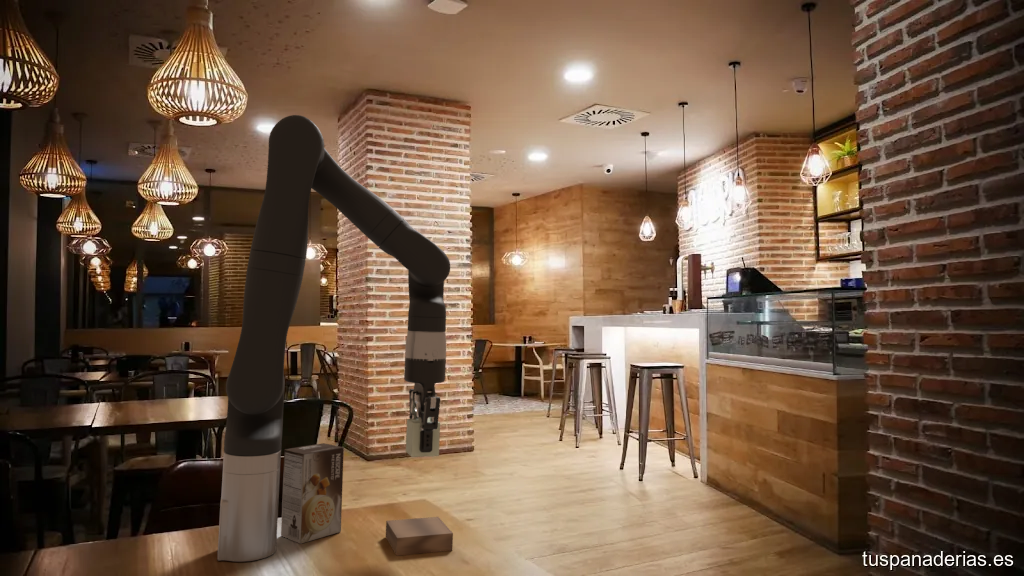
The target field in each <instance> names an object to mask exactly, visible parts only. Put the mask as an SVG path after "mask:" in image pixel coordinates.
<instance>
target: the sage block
mask: <svg viewBox="0 0 1024 576" xmlns="http://www.w3.org/2000/svg"><path fill="white" fill-rule="evenodd" d="M427 422H430V419H429V418H428V420H427ZM440 432H441V422H440V421H438V427H437V429H435V430H434V431H433V443H432V451H431V452H421V451H420V450H419V448H420V420H419V419H410V418H406V431H405V433H406V435H405V452H406V453H407V454H408V455H409V456H410V457H411V458H420V457H421V458H424V457H426V458H427V457H439V456H440V437H441V436H440V435H441V433H440Z"/></svg>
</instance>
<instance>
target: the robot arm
mask: <svg viewBox="0 0 1024 576" xmlns="http://www.w3.org/2000/svg"><path fill="white" fill-rule="evenodd" d="M324 140H325V139H324V137H323V134H322V132H321V130H320V128H319V127H318V126H317V125H316V123H315V122H314V121H312V120H311V119H310V118H308V117H306V116H304V115H300V114H299V115H298V114H292V115H291V114H290V115H287V116H285V117H283V118H282V119H280V120H279V121H277V122H276V123H275V124H274V126H273V127H272V129H271V131H270V132H269V136H268V153H267V169H266V183H265V190H264V194H263V198H262V202H261V206H260V209H259V213H258V217H257V220H256V224H255V229H254V232H253V238H252V241H251V247H250V249H249V250H250V251H249V254H248V255H249V256H248V263H247V268H246V272H245V273H246V275H245V283H244V292H243V293H244V294H243V305H242V306H243V308H242V324H241V331H240V335H239V340H238V343H237V346H236V347H237V348H236V351H235V354H234V358H233V360H232V363H231V364H232V365H231V367H230V371H229V373H228V376H227V378H226V382H225V392H226V396H227V409H226V410H227V412H226V413H227V414H226V416H227V417H226V423H225V431H224V437H223V438H224V442H223V461H222V476H221V477H222V479H221V480H222V481H221V495H220V496H221V497H220V502H219V503H220V505H219V507H220V508H219V522H218V524H219V525H218V543H217V561H228V562H242V563H243V562H251V561H257V560H262V559H265V558H268V557H271V556H272V555H273V554H275V553H276V551H277V541H278V535H277V534H278V519H279V518H278V517H279V499H280V498H279V497H280V496H279V495H280V478H281V463H282V462H281V460H282V458H281V455H282V442H283V441H282V440H283V428H284V427H283V424H284V405H285V404H284V403H285V402H284V401H285V374H284V372H285V356H286V344H287V338H288V337H287V336H288V334H289V333H288V332H289V327H290V324H291V322H292V318H293V315H294V312H295V310H296V306H297V302H298V299H299V296H300V291H301V287H302V283H303V282H302V281H303V277H304V273H305V272H304V271H305V266H306V259H307V252H308V242H309V209H310V207H309V206H310V205H309V204H310V197H311V192H312V190H313V191H314V192H316V193H317V194H318V195H320V196H321V197H322V198H324V199H325V200H327V202H329V203H330V204H331V205H332V206H333V207H335V208H336V209H337V210H338V211H339V212H340V213H341V214H342V215H343V216H344V217H345V218H346V219H348V220H349V221H350V223H352V225H354V226H355V227H356V228H357V229H358V230H359V231H360V232H361V233H362V234H363V235H365V237H367V238H368V239H369V240H370V241H371V242H373V244H374V245H376V247H378V248H379V249H380V250H381V251H383V252H384V253H386V254H387V255H388V256H392V257H393V258H394V259H396V261H398V262H399V263H400V264H401V265H402V266H403V267H404V268H405V269H406V270H407V272H408V273H407V274H408V276H407V280H408V297H409V300H408V301H409V302H408V303H409V305H408V311H407V312H408V313H407V332H406V338H405V350H404V373H403V375H404V376H403V379H404V381H405V382H407V383H411V384H414V385H413V388H409V390H408V393H409V396H408V398H409V399H408V401H409V404H408V405H409V417H408V419H419V420H420V448H419V450H420V451H421V452H431V451H432V443H433V431H434V430H435V429H437V427H438V422H439V417H440V415H439V414H440V407H441V401H442V400H441V397H440V396H438V392H436V386H435V385H436V384H441V383H444V382H445V381H446V364H447V337H446V330H447V307H446V304H445V300H444V296H445V295H444V292H445V291H444V290H445V281H446V279H447V278H448V277H449V274H450V273H451V262H450V259H449V257H448V256H447V255H448V254H446V253H445V251H444V250H443V249H442V248H441V247H439V246H438V245H437V244H436V243H435V242H433V241H432V240H431V239H429V238H428V237H426V236H425V235H424V234H422V233H421V232H420V231H418V230H416V229H415V228H414V227H413V226H412V225H411V224H410V223H409V222H408V221H407V220H406V219H405V218H404V217H403V216H402V215H401V214H400V213H399V212H397V211H396V210H395V209H394V208H393V207H392V206H391V205H390V204H389V203H387V202H386V201H385V200H384V199H382V197H380V196H378V195H377V194H376V193H375V192H373V191H371V190H370V189H368V188H367V187H366V186H364V185H362V184H361V183H360V182H358V181H357V180H355V179H354V177H352V176H351V175H349V173H348V172H346V171H345V170H344V169H343V168H342V167H341V166H340V165H339V163H337V162H336V160H335V159H334V158H333V157H332V156H331V154H330V153H329V152H328V150H327V149H326V148H325V141H324ZM428 418H429V419H430V422H427V420H428Z"/></svg>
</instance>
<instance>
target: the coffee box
mask: <svg viewBox="0 0 1024 576" xmlns="http://www.w3.org/2000/svg"><path fill="white" fill-rule="evenodd" d="M344 449H345V448H344V446H338V445H333V444H329V443H323V442H322V443H317V444H312V445H311V444H309V445H303V446H297V447H291V448H285V449H284V451H283V476H282V477H283V478H282V497H281V498H282V500H281V501H282V502H281V523H280V524H281V527H280V536H281V537H282V536H283V537H282V538H284V537H285V539H287V538H288V539H287V540H289V541H290V540H291V541H292V542H295V543H297V544H304V543H308V542H311V541H316V540H317V539H321V538H324V537H328V536H330V535H331V536H332V535H334V534H338V533H341V532H342V511H343V510H342V507H343V505H342V504H343V477H344Z"/></svg>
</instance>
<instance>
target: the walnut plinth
mask: <svg viewBox="0 0 1024 576" xmlns="http://www.w3.org/2000/svg"><path fill="white" fill-rule="evenodd" d="M385 539H386V540H387V542H388V543H389V545H390V548H391V549H392V550H393V552H394V554H395V556H397V557H398V556H406V555H417V554H426V553H436V552H437V553H438V552H446V551H449V552H450V551H453V543H454V542H453V539H454V533H453V531H452V530H451V529H450V528H449V527H448V525H446V523H444V522H443V520H442V519H441V518H440V517H439V516H432V517H430V516H429V517H417V518H406V519H390V520H386V521H385Z"/></svg>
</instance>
